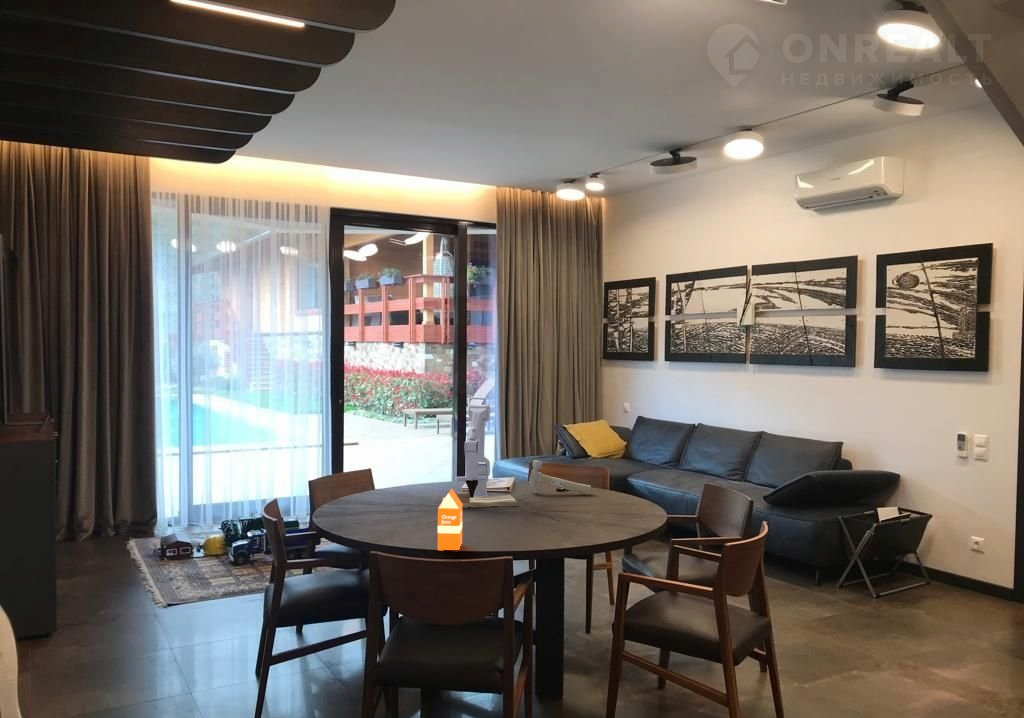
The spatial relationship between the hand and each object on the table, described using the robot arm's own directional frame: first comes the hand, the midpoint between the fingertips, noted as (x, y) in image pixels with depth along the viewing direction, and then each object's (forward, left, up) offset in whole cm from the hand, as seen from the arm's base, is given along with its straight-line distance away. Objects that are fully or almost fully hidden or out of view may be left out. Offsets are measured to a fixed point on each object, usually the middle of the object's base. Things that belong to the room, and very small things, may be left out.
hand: (471, 497), depth 315 cm
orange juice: (+65, -18, -4) cm, 67 cm away
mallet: (-3, -4, -2) cm, 5 cm away
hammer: (-19, +46, -4) cm, 51 cm away
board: (-4, +4, -4) cm, 7 cm away
